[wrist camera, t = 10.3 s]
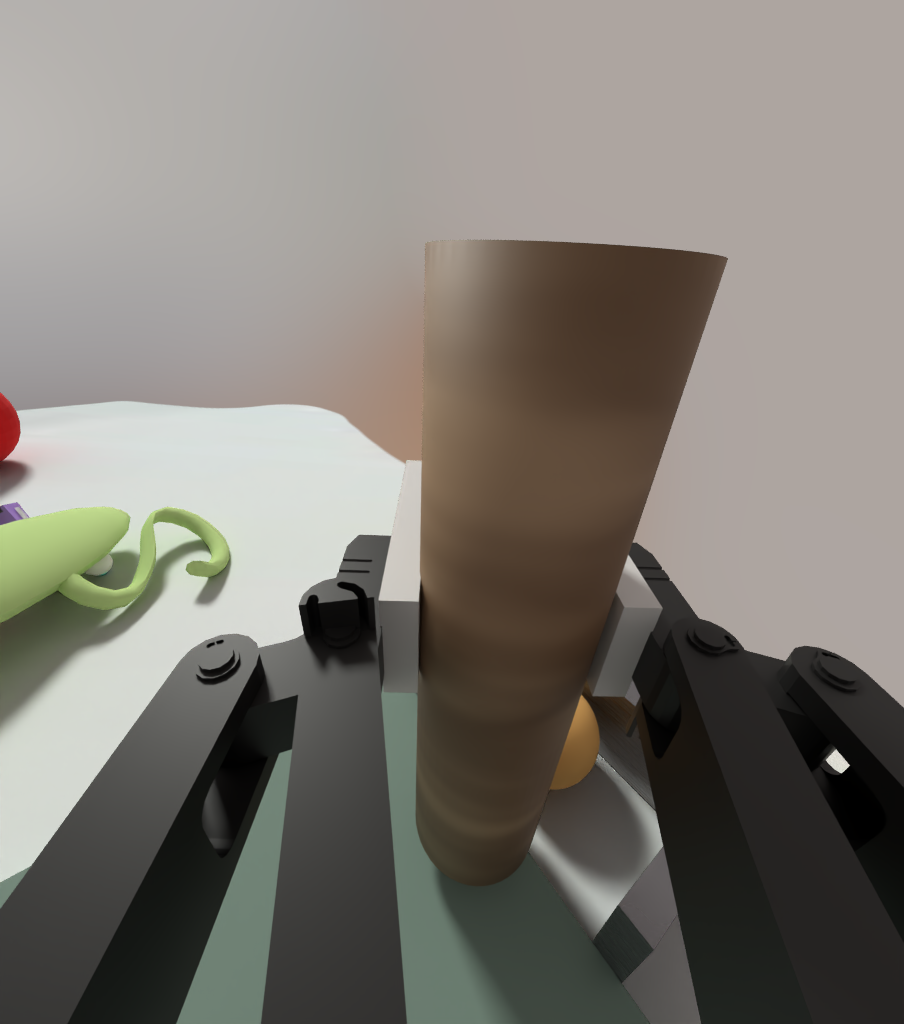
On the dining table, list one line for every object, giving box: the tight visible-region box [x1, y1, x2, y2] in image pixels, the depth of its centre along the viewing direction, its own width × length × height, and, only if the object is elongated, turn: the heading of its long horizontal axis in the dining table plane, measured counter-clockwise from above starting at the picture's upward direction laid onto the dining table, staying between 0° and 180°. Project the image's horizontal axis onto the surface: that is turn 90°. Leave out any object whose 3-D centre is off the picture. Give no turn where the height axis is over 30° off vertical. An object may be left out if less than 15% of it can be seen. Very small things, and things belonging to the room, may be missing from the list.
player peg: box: [415, 240, 728, 886], centre depth 10 cm, size 4×4×16 cm
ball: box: [550, 695, 600, 790], centre depth 17 cm, size 4×4×4 cm
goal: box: [416, 679, 678, 983], centre depth 16 cm, size 6×11×4 cm, turn 36°
